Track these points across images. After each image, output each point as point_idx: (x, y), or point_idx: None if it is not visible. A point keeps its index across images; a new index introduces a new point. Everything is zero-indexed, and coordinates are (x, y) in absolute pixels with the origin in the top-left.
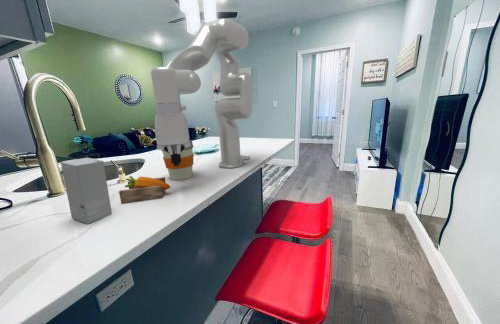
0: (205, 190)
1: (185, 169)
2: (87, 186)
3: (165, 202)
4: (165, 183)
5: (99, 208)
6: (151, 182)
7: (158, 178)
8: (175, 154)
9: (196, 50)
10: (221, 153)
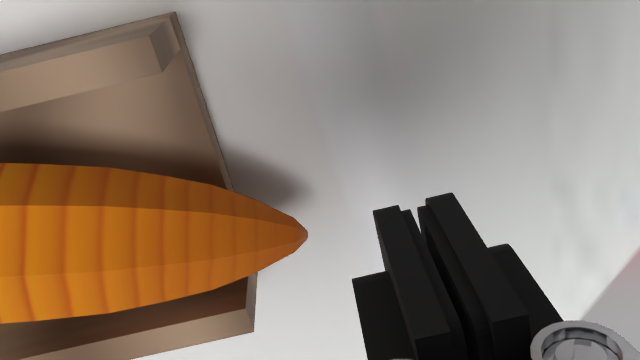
0: (598, 153)
1: None
2: None
3: (312, 332)
4: (263, 257)
5: None
6: (130, 307)
7: (86, 85)
8: (463, 350)
9: None
10: None
